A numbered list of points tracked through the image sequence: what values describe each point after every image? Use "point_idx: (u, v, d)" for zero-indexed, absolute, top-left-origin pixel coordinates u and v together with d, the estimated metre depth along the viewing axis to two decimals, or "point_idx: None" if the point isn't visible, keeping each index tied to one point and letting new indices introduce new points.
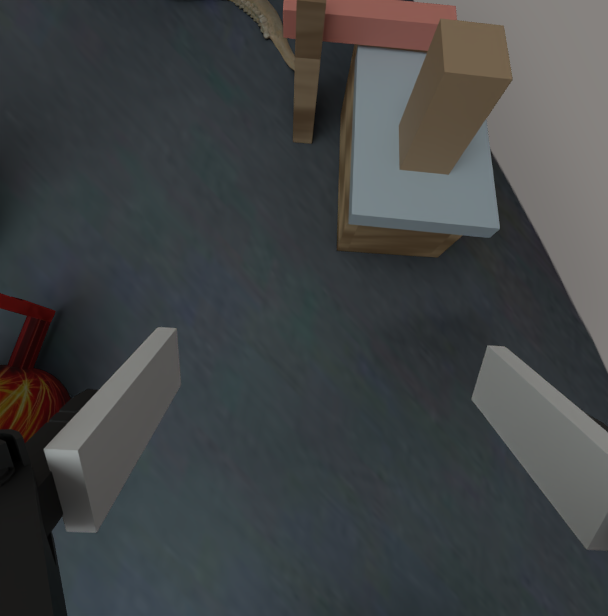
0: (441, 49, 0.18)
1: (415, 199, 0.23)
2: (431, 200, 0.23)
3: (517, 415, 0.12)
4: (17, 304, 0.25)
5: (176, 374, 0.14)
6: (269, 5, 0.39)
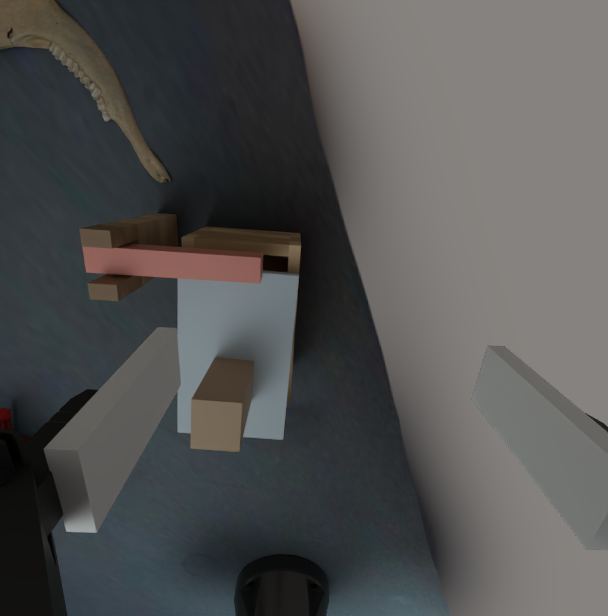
0: (191, 425, 0.24)
1: None
2: None
3: (517, 415, 0.12)
4: None
5: (176, 374, 0.14)
6: (99, 58, 0.30)
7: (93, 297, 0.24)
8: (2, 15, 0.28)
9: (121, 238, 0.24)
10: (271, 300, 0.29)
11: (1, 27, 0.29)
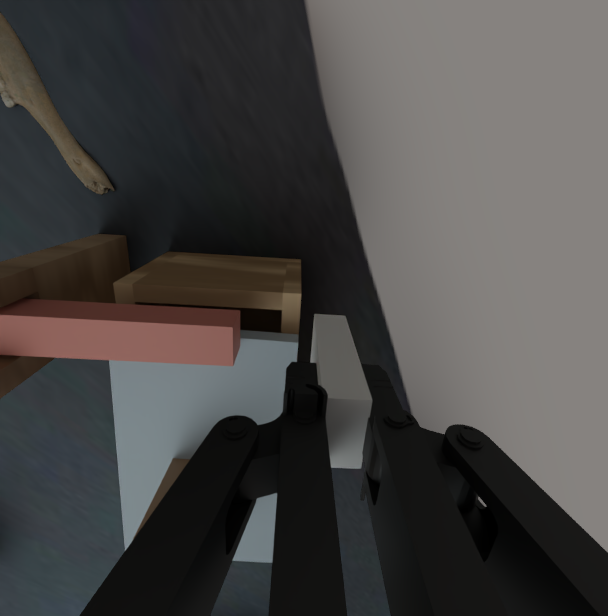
0: None
1: None
2: None
3: None
4: None
5: None
6: None
7: None
8: None
9: None
10: (256, 378, 0.18)
11: None
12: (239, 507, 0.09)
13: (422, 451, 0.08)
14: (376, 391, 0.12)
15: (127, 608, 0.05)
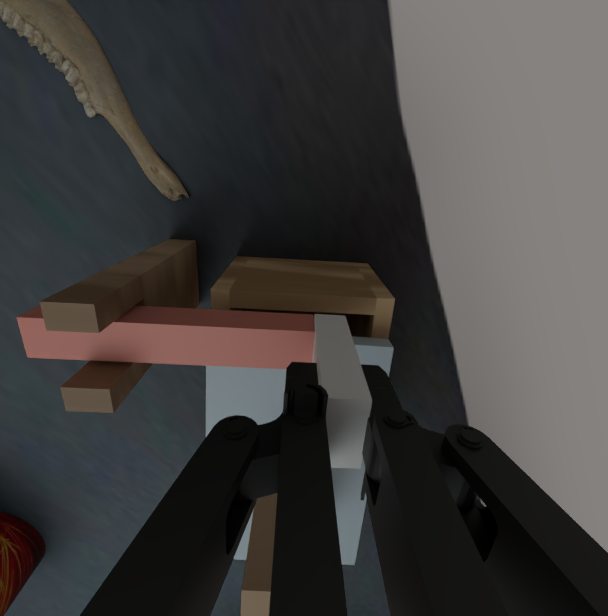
0: None
1: None
2: None
3: None
4: None
5: None
6: (72, 21, 0.20)
7: (71, 408, 0.14)
8: None
9: (116, 308, 0.14)
10: None
11: None
12: (239, 507, 0.09)
13: (422, 451, 0.08)
14: (376, 391, 0.12)
15: (127, 608, 0.05)
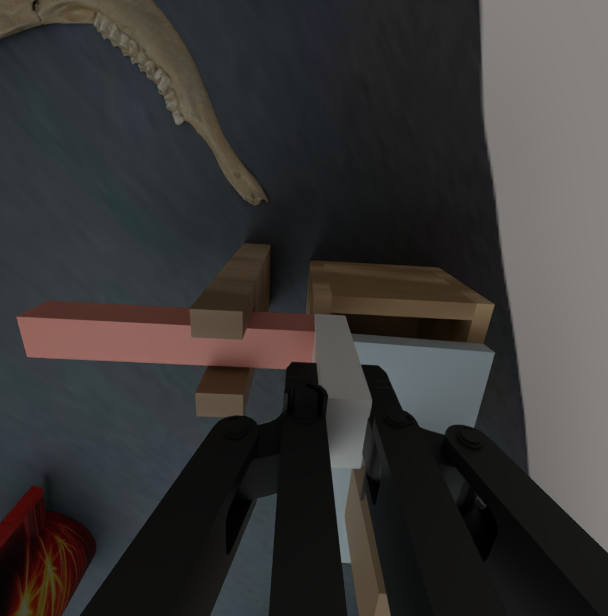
0: None
1: None
2: None
3: None
4: (9, 531, 0.29)
5: None
6: (166, 31, 0.20)
7: (202, 413, 0.14)
8: None
9: (247, 314, 0.14)
10: (447, 387, 0.19)
11: None
12: (239, 507, 0.09)
13: (422, 451, 0.08)
14: (376, 391, 0.12)
15: (127, 608, 0.05)
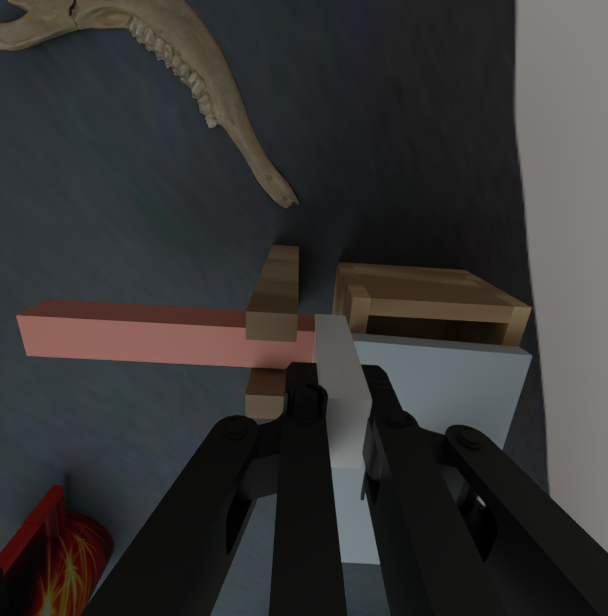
0: None
1: None
2: None
3: None
4: (33, 531, 0.29)
5: None
6: (201, 35, 0.20)
7: (251, 415, 0.15)
8: None
9: None
10: (484, 389, 0.19)
11: (59, 0, 0.19)
12: (239, 507, 0.09)
13: (422, 451, 0.08)
14: (376, 391, 0.12)
15: (127, 608, 0.05)
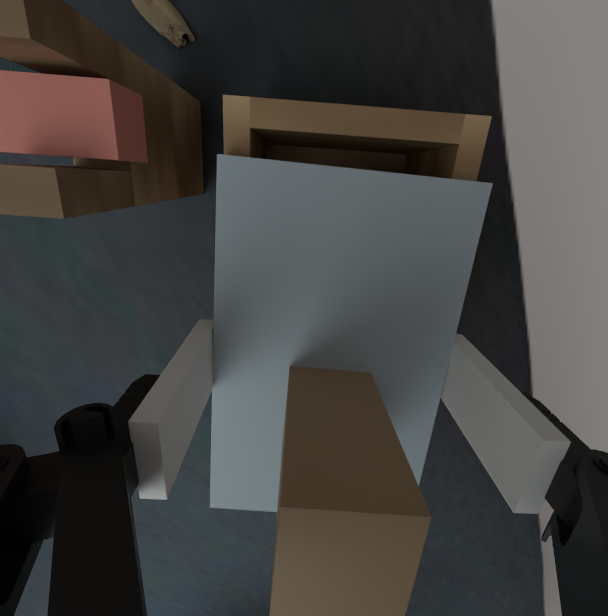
0: (273, 571, 0.08)
1: None
2: None
3: (466, 396, 0.13)
4: None
5: None
6: None
7: None
8: None
9: (68, 37, 0.08)
10: (422, 241, 0.13)
11: None
12: (18, 547, 0.08)
13: None
14: None
15: None
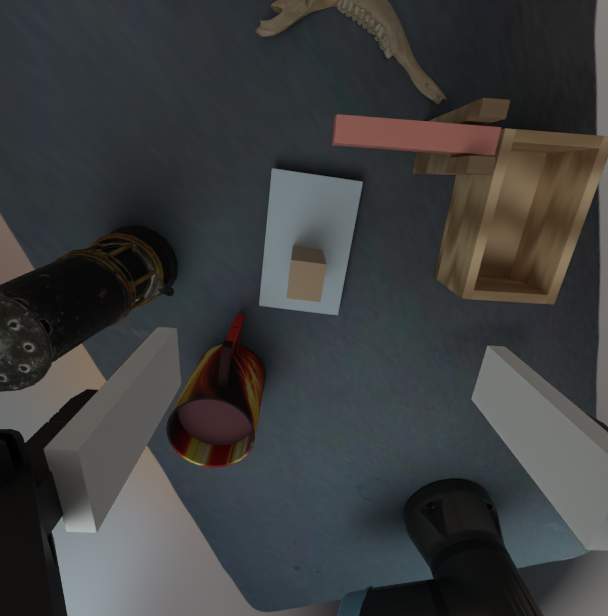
0: (288, 280, 0.34)
1: None
2: None
3: (517, 415, 0.12)
4: (238, 332, 0.40)
5: (176, 374, 0.14)
6: None
7: (470, 170, 0.26)
8: None
9: None
10: (340, 200, 0.37)
11: None
12: None
13: None
14: None
15: None
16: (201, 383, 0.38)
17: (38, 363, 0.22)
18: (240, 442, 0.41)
